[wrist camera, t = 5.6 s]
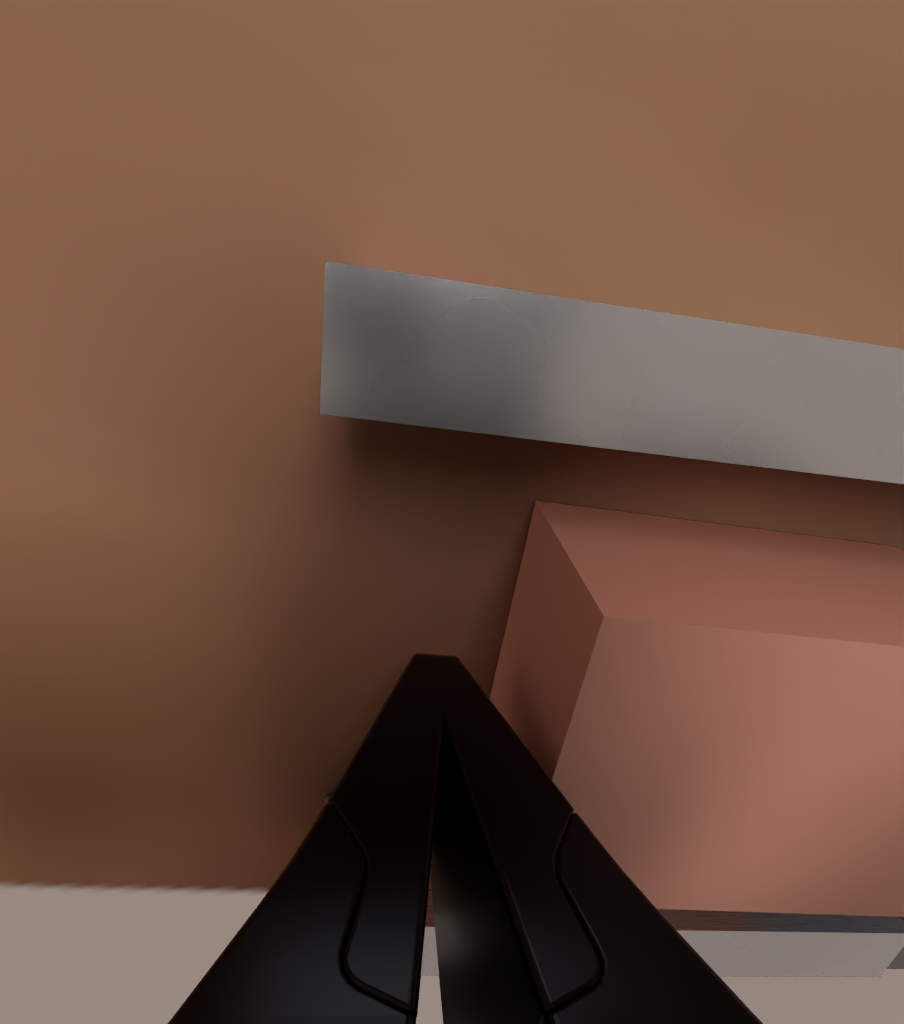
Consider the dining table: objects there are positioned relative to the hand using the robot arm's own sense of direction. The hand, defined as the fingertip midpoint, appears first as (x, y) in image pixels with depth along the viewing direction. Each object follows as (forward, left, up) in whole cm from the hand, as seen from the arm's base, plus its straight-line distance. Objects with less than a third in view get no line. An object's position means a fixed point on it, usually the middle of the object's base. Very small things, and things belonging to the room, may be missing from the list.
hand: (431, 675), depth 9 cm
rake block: (-5, +2, -1) cm, 5 cm away
